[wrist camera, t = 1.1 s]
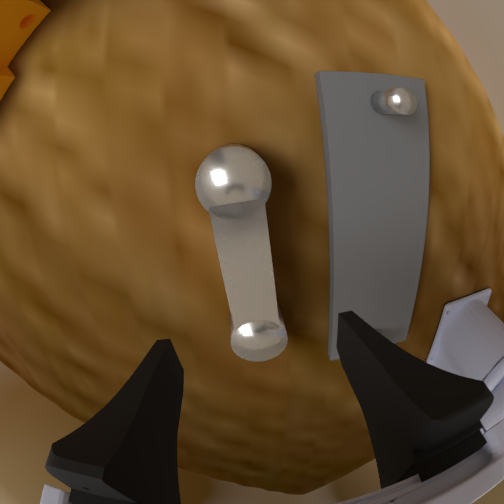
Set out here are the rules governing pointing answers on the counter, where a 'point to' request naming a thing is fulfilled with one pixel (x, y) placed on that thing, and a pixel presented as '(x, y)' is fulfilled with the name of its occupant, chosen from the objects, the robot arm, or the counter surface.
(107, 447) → the robot arm
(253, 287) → the ball knob lever
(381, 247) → the grey metal plate
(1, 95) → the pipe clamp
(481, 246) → the counter surface
